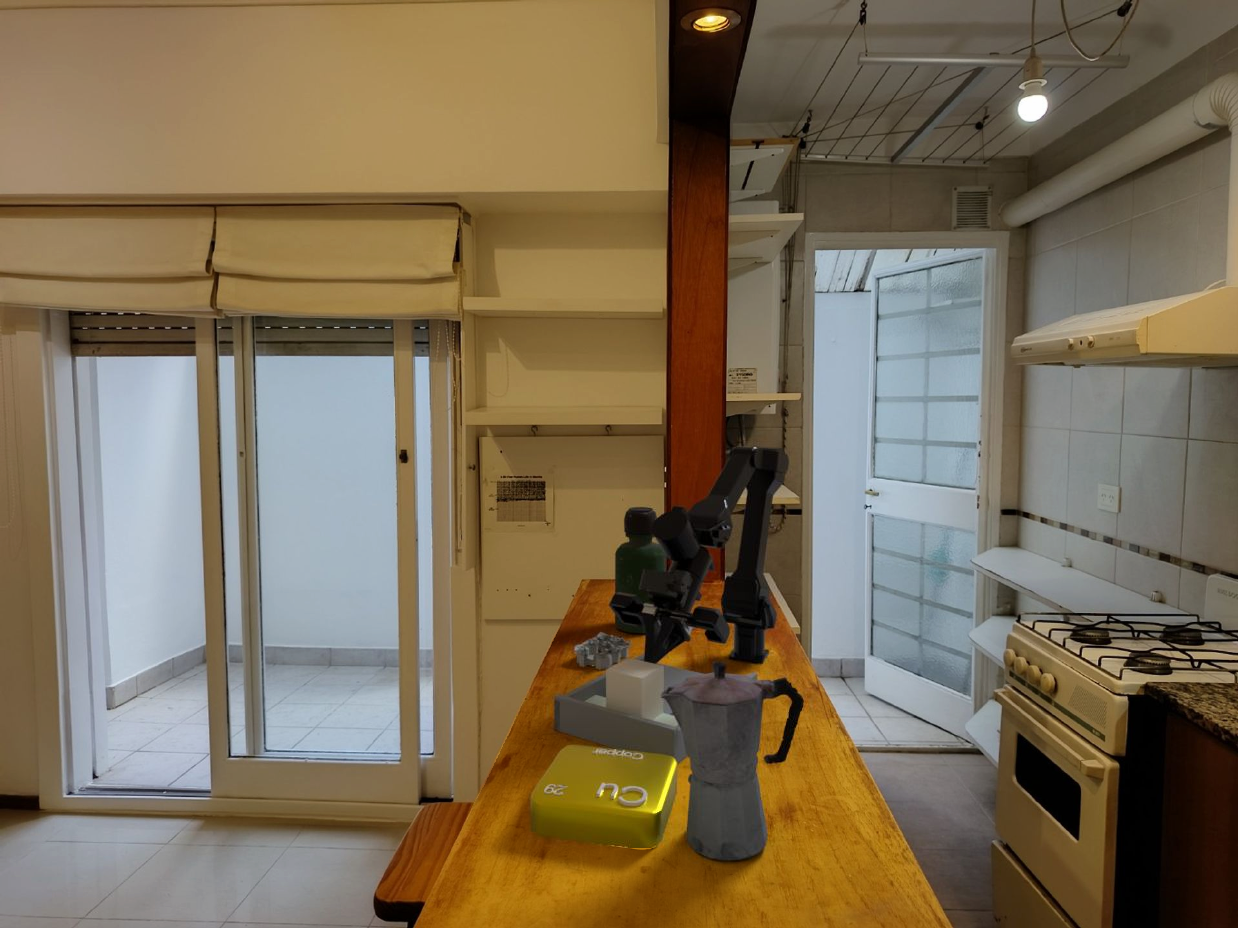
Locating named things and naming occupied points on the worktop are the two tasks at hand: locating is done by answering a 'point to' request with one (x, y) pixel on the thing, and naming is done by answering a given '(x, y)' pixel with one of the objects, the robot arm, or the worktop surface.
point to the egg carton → (610, 649)
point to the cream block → (635, 688)
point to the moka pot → (727, 757)
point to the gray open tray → (622, 718)
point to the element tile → (605, 797)
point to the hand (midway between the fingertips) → (647, 666)
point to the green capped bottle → (637, 558)
